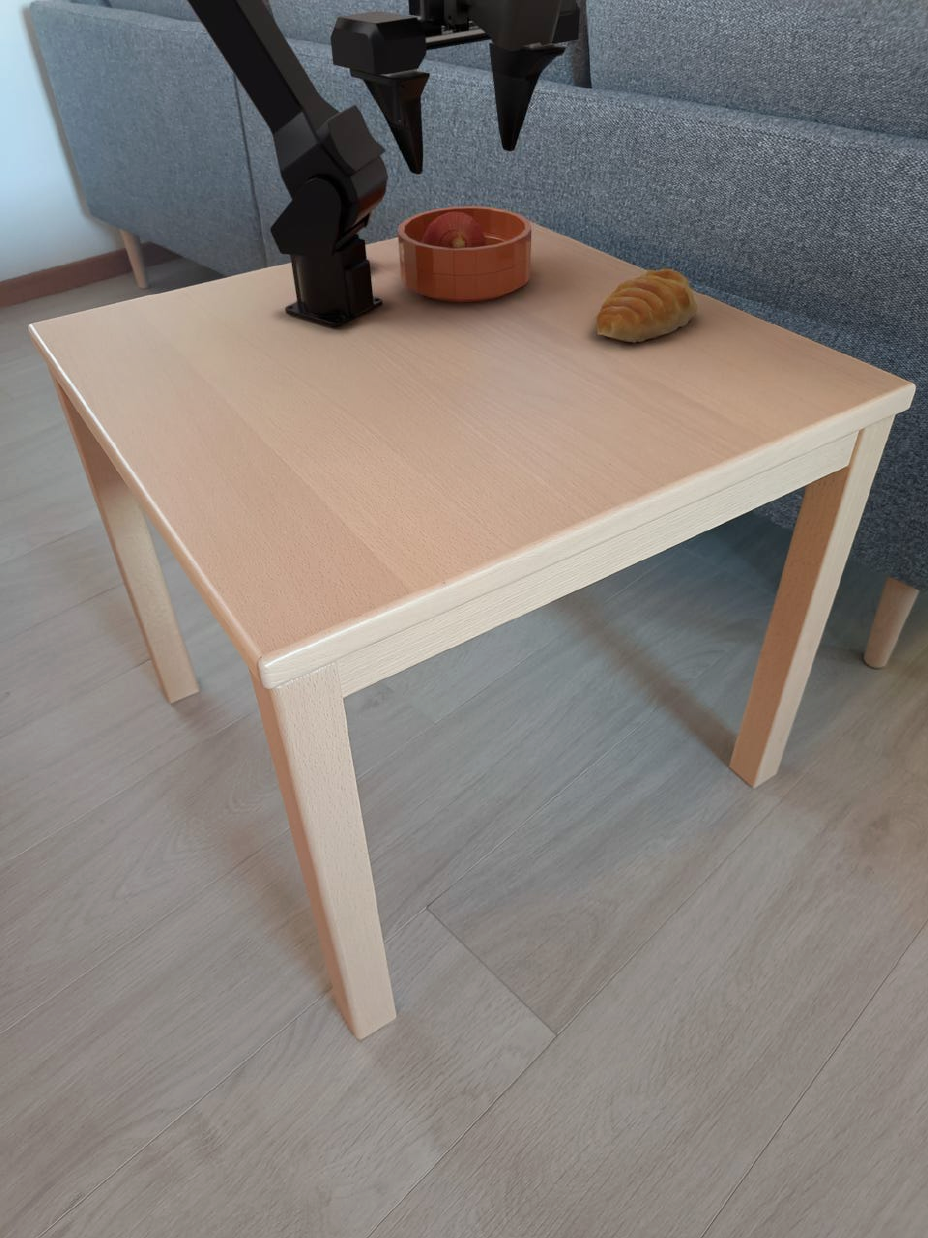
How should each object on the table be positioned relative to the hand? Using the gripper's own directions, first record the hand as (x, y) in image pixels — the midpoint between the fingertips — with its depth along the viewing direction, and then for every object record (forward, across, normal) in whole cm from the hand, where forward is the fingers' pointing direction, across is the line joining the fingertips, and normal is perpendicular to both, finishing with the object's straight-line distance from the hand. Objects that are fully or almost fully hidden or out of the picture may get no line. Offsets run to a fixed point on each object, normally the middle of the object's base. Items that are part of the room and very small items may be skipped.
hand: (463, 161), depth 69 cm
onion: (+8, +3, +5) cm, 10 cm away
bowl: (+13, +6, +8) cm, 16 cm away
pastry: (+13, +11, -10) cm, 20 cm away
